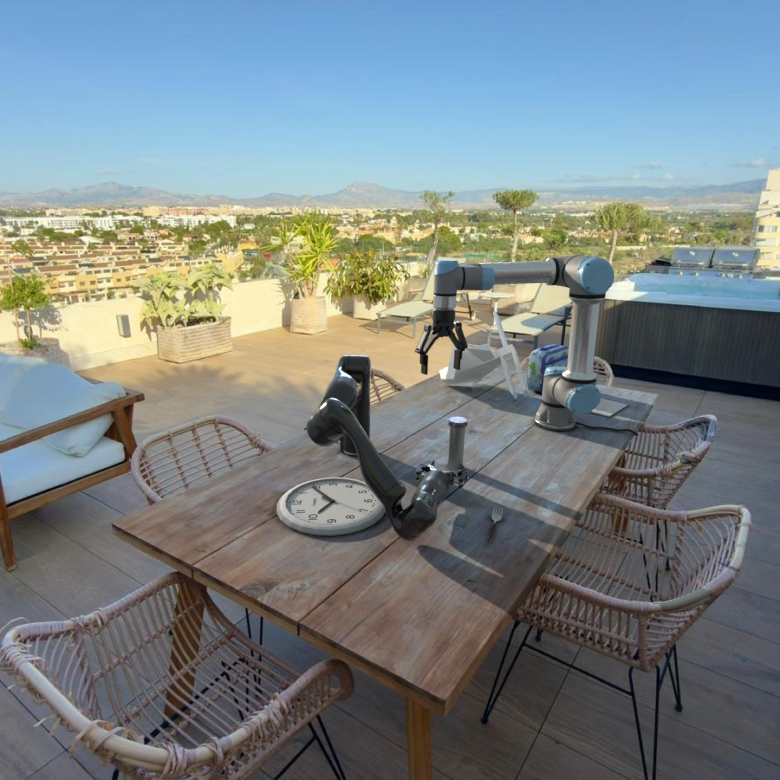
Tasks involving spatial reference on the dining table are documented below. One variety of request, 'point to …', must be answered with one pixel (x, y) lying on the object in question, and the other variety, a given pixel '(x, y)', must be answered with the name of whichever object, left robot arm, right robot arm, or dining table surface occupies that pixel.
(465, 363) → the white plastic object
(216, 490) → the dining table surface
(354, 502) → the wall clock
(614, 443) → the dining table surface
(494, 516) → the fork
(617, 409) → the invitation card
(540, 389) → the lunch box
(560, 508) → the dining table surface
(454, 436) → the jar
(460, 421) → the lid
